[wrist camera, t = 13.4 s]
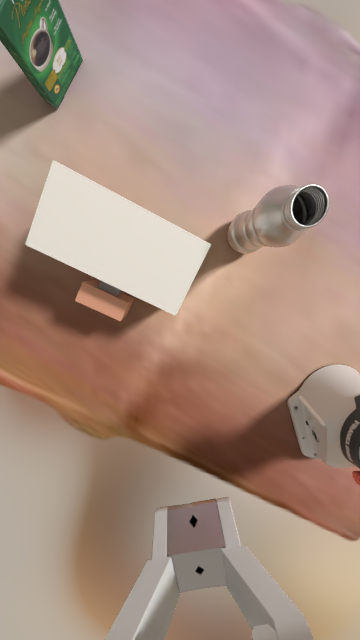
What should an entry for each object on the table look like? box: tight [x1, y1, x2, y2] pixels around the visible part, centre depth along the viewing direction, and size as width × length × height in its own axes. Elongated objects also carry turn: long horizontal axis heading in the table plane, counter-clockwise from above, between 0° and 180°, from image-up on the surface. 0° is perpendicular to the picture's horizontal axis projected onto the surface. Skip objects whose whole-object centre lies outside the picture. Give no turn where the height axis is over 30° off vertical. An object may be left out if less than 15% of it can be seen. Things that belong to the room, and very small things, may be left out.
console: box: [25, 160, 211, 316], centre depth 34 cm, size 10×20×13 cm, turn 64°
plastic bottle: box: [227, 184, 329, 254], centre depth 30 cm, size 6×7×20 cm
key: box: [75, 280, 134, 321], centre depth 34 cm, size 10×7×5 cm
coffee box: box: [0, 0, 83, 108], centre depth 28 cm, size 8×3×13 cm, turn 144°
